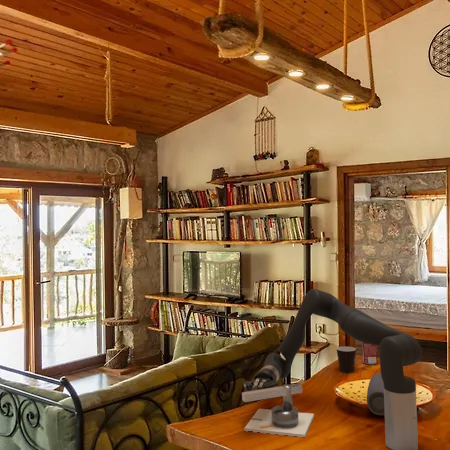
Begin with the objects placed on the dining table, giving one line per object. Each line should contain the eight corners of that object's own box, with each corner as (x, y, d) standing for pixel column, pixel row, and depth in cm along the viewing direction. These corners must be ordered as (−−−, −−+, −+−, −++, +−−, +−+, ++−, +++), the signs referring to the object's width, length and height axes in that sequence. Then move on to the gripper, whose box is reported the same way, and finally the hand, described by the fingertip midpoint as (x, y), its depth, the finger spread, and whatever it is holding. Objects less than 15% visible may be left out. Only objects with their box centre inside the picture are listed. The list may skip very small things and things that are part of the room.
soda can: (378, 365, 237) (377, 339, 237) (363, 365, 238) (362, 339, 238) (377, 361, 243) (376, 336, 243) (362, 361, 245) (361, 336, 245)
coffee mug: (342, 367, 236) (341, 345, 236) (359, 370, 231) (359, 348, 231) (330, 373, 227) (329, 351, 227) (348, 376, 222) (347, 353, 222)
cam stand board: (314, 416, 178) (313, 413, 178) (304, 437, 161) (304, 434, 161) (259, 411, 184) (258, 408, 184) (244, 431, 167) (244, 427, 167)
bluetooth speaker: (394, 420, 172) (393, 391, 172) (366, 417, 175) (365, 389, 175) (394, 397, 194) (394, 371, 194) (369, 396, 197) (368, 370, 197)
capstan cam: (295, 414, 176) (294, 379, 176) (308, 423, 168) (306, 387, 168) (239, 424, 169) (238, 388, 169) (249, 434, 161) (248, 397, 161)
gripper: (249, 366, 186) (234, 381, 170) (284, 369, 182) (272, 384, 166) (249, 387, 186) (235, 403, 170) (285, 389, 182) (273, 407, 166)
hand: (253, 394), depth 168 cm, fingers closed
